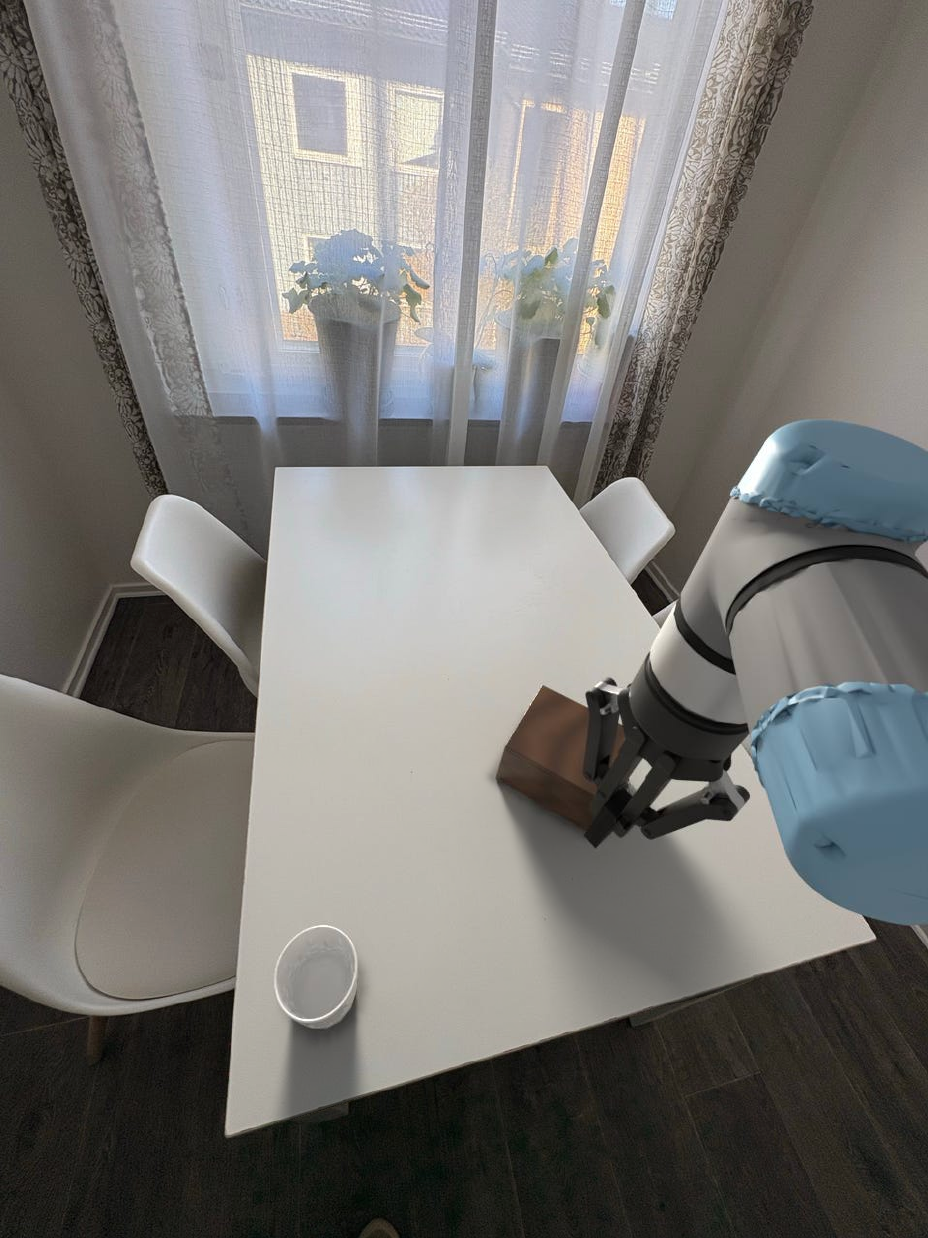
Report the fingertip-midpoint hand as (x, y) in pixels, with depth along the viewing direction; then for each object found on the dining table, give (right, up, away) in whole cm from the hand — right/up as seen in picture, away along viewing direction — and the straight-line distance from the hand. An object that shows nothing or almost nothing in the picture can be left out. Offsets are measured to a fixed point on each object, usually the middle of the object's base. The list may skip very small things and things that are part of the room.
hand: (598, 833), depth 48 cm
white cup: (-28, -21, +8) cm, 36 cm away
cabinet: (+1, -3, +30) cm, 31 cm away
